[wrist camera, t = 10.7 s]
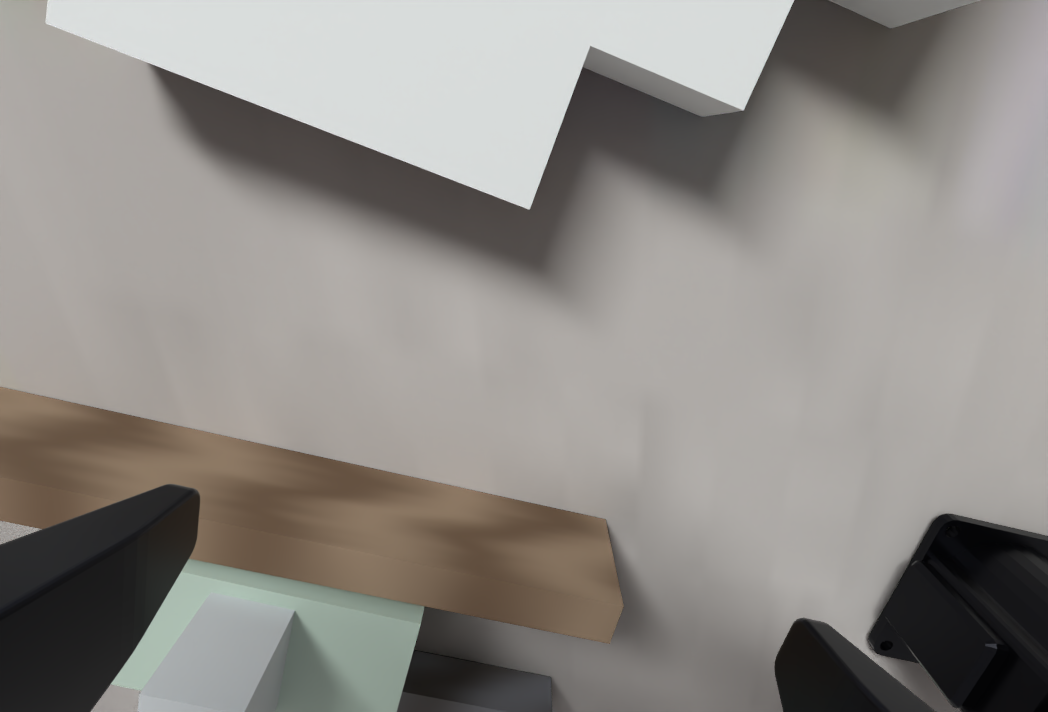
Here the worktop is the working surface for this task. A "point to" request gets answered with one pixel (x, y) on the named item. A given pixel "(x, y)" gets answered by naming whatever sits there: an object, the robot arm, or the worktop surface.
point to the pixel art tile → (456, 64)
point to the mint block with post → (270, 646)
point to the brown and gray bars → (331, 532)
